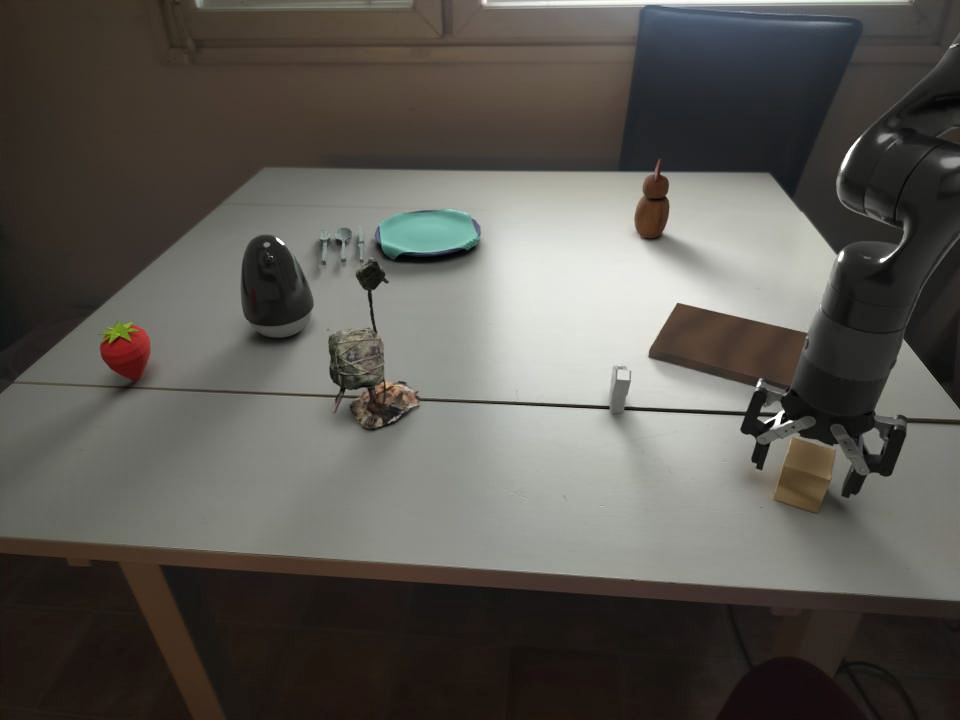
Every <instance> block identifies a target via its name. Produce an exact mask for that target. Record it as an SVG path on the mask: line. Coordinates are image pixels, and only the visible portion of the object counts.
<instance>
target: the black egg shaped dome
mask: <svg viewBox="0 0 960 720" xmlns="http://www.w3.org/2000/svg"><path fill="white" fill-rule="evenodd" d="M241 261H242V262H241V268H240V269H241V272H240V301H241V310H242V314H243V316H244V319H245V320H246V321H247V322H248V323H249V324H250V326H251V327H252V328H253V329H254V330H255V331H256V332H258V333H259V334H260V335H262V336H265V337H268V338H275V339H281V338H282V339H283V338H287V337H291V336H293V335H296V334H297V333H299V332H301V331H302V330H304V328H306V327H307V325H308V323H309V322H310V320H311V317H312V314H313V309H314V306H315V300H314V296H313V292H312V290H311V287H310V284H309V282H308V280H307V277H306V274H305V272H304V271H303V269H302V267H301V265H300V263H299V262H298V260H297V258H296V256H295V254H294V253H293V252H292V249H291V248H289V247H288V245H287V244H286V243H285V242H284V241H283V240H282V239H280V238H279V237H278V236H276V235H273V234H268V233H267V234H260V235H257V236H255V237H253V238H252V239H251V240H250V241H248V243H247V246H246V247H245V250H244V253H243V257H242V260H241Z"/></svg>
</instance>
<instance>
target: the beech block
mask: <svg viewBox="0 0 960 720" xmlns="http://www.w3.org/2000/svg"><path fill="white" fill-rule="evenodd" d="M836 452H837V449H836V448H835V449H834V448H831V447H828V446H825V445H821V444H818V443H815V442H812V441H807V440H805V439H801V438H797V437H794V436H791V438H790V441H789V443H788V447H787V449H786V452H785V455H784V459H783V461H782V465H781V467H780V470H779V474H778V478H777V482H776V486H775V490H774V493H773V498H772V500H774V501H778V502H781V503H784V504H786V505H789V506H793V507H795V508H799V509H802V510H804V511H807V512H811V513H813V514H818V512H820V511H819V510H820V509H821V506H822V503H823V501H824V499H825V495H826V493H827V491H828V488H829V486H830V484H831V480H832V476H833V469H834V464H835V458H836V454H837V453H836Z"/></svg>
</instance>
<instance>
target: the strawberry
mask: <svg viewBox="0 0 960 720" xmlns="http://www.w3.org/2000/svg"><path fill="white" fill-rule="evenodd" d="M134 323H135V321H130V322H128V323H125V324H123V323H122V322H121V317H119V318H118V319H117V321H116V322H115V325H114V326H111V327H105V329H106V331H103V332H99V333H98V334H97V335H98V336H104V337H103V338H102V340H101V341H99V343H100V345H99V351H100V357H101V359H102V361H103V362H104V363H105V365H107V366H108V368H109V370H111V371H113V372H115V373H116V374H118V375H120V377H123V378H126V379H129V380H131V381H133V382H138V381H139V380H141V378H142V377H143V373H144V372H145V369H146V367H147V365H148V362H149V360H150V356H151V338H150V336H149V335H148V333H147V331H146V330H145V329H144V328H143V327H140V326H138V325H135V324H134Z"/></svg>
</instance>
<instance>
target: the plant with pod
mask: <svg viewBox="0 0 960 720" xmlns="http://www.w3.org/2000/svg"><path fill="white" fill-rule="evenodd" d="M355 278H356V280H357V281H358V283H359V285H360V286H361V288H362V289H363V290H364V291H367V300H368V306H369V316H370V321H371V325H372V328H371V327H363V328H362V327H354V328H353V327H352V328H348V329H342V330H337V331H336V332H333V333H331V334H329V336H328V340H327V341H328V342H327V343H328V354H329V356H330V361H329V366H328V370H329V372H328V373H329V377H330V380H331V381H332V383H333V384H335V385H336V386H338V387H339V391H338V393H337V394H336V397H335V398H334V405H333V409H332V413H331V414H332V415H336V414H337V411H338V408H339V406H340V404H341V403H342V400H343V397H344V396H345V393H346V390H348V391H353V390H354V391H357V390H359V389H366V390H364V391H363V392H362V393H361V394H360V395H359V396H358V397H355V398H354V399H353V400H352V401H351V402H350V403H348V408H349V409H348V411H350V413H351V414H352V415H353V417H354V420H357V421H356V422H358V423H359V424H360V425H361V428H363V427H364V429H366V428H367V429H368V430H369V429H378V427H379V428H380V427H383V426H385V425H387V424H391V422H397V420H398V419H399V418H400V417H402V415H404V414H403V413H405V412H409V411H410V408H414V407H417V406H420V403H421V399H420V398H421V397H420V396H418V393H419V390H417V391H416V390H413V389H412V387H410V386H409V384H408V382H406V381H405V380H403V381H402V380H401V381H400V380H398V381H396V382H393V383H392V382H390V381H386V379H385V359H384V357H385V353H384V351H385V348H384V347H385V344H384V342H383V341H382V337H381V334H379V332H378V329H377V326H376V320H375V314H374V306H373V304H374V303H373V292H372V291H375V290H377V288H379V285H380V284H381V283H384V284H386V285H387V284H389V283H390V281H389V280H388V279H387V277H386V271H385V270H384V267H382V266H381V264H380V263H379V261H378V260H376V258H373V257H369V258H368V259H367V260H366V261H364V263H361V265H360V266H359V267H358V268H357V270H356V272H355ZM329 331H330V328H327V329H326V332H329Z"/></svg>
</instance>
